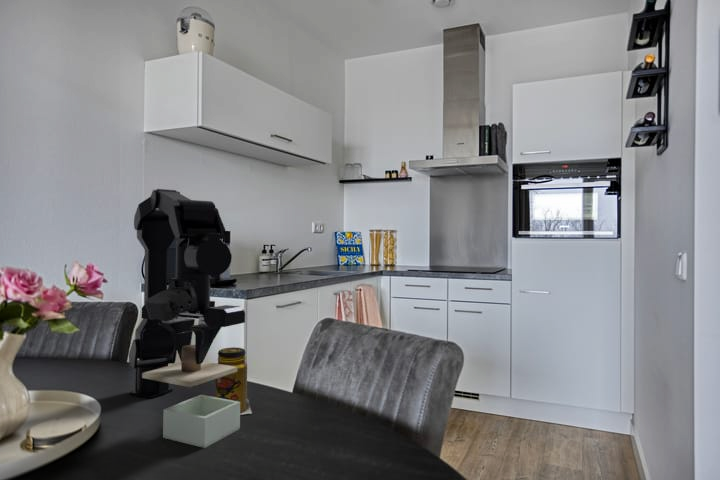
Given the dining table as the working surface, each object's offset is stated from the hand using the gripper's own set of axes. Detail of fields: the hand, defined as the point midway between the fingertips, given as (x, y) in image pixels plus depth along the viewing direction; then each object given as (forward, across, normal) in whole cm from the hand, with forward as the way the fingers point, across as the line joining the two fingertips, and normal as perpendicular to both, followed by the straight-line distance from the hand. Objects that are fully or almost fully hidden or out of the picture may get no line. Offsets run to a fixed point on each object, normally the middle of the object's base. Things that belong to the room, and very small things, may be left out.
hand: (191, 362), depth 85 cm
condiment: (+12, -2, +13) cm, 18 cm away
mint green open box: (+12, +2, +1) cm, 13 cm away
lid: (+2, 0, 0) cm, 2 cm away
